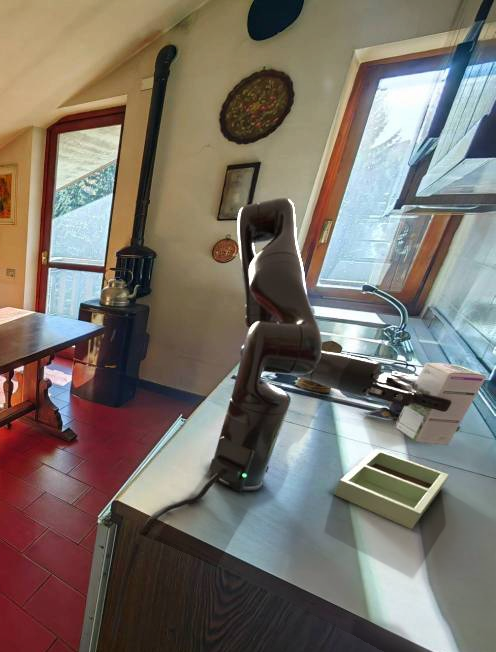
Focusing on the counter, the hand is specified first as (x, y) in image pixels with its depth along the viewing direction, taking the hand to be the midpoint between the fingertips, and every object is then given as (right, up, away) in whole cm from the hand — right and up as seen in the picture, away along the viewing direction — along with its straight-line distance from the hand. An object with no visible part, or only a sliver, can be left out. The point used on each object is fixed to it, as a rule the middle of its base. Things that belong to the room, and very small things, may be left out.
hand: (454, 401), depth 72 cm
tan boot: (+20, +1, +55) cm, 58 cm away
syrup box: (-1, -7, +5) cm, 9 cm away
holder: (-6, -19, +6) cm, 20 cm away
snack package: (+26, -7, +36) cm, 45 cm away
